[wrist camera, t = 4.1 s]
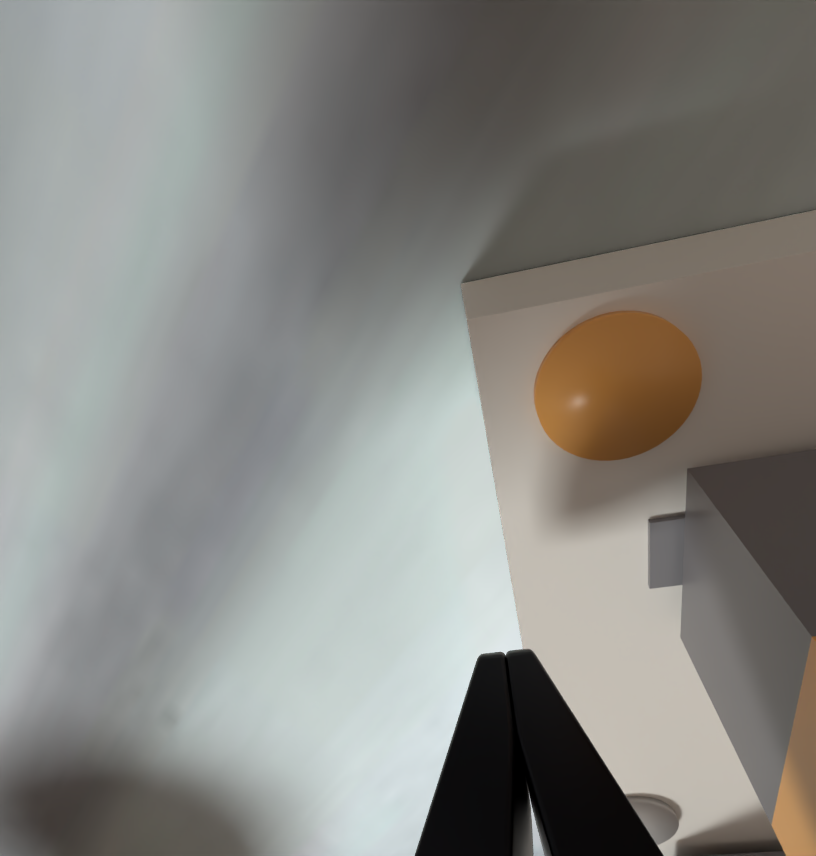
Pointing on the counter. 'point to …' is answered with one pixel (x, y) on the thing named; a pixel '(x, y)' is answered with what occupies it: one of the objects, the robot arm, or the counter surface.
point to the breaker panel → (641, 483)
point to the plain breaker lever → (756, 854)
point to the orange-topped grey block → (758, 624)
